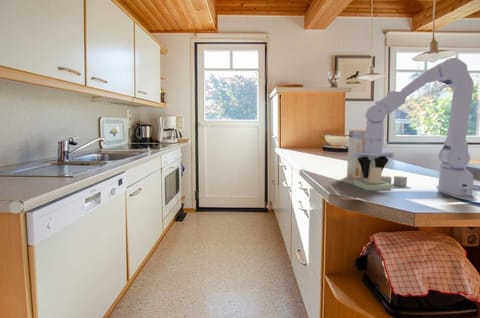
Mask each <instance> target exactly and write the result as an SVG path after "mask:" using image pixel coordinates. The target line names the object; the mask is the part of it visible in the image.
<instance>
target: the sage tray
mask: <svg viewBox="0 0 480 318" xmlns="http://www.w3.org/2000/svg"><path fill="white" fill-rule="evenodd" d="M391 184H392V183H391ZM391 184H388V183H386V182H383V181H381V183H371V184H370V183H368V182H365V181H364V179H353V180H352V185H354V186H356V187H357V188H358V187H359V188H361V189H363V190H365V191H377V190H378V191H385V190H387V191H389V190H390V191H391V190H392V189H391Z"/></svg>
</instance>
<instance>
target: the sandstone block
mask: <svg viewBox="0 0 480 318" xmlns="http://www.w3.org/2000/svg"><path fill="white" fill-rule="evenodd" d="M382 173H383V171H382V168H381V167H377V166H369V175H368V178H365V179H364V181H365V182H368V183H370V184H369V185H372V184H371V183H381V176H382Z"/></svg>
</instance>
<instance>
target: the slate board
mask: <svg viewBox="0 0 480 318" xmlns="http://www.w3.org/2000/svg"><path fill="white" fill-rule="evenodd" d="M395 189H396V190H398V189H399V190H403V189H404V190H406V189H407V190H409V189H410V190H411V187H410V186H407V185H404V186H399V185H394V183H391V190H395Z"/></svg>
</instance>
